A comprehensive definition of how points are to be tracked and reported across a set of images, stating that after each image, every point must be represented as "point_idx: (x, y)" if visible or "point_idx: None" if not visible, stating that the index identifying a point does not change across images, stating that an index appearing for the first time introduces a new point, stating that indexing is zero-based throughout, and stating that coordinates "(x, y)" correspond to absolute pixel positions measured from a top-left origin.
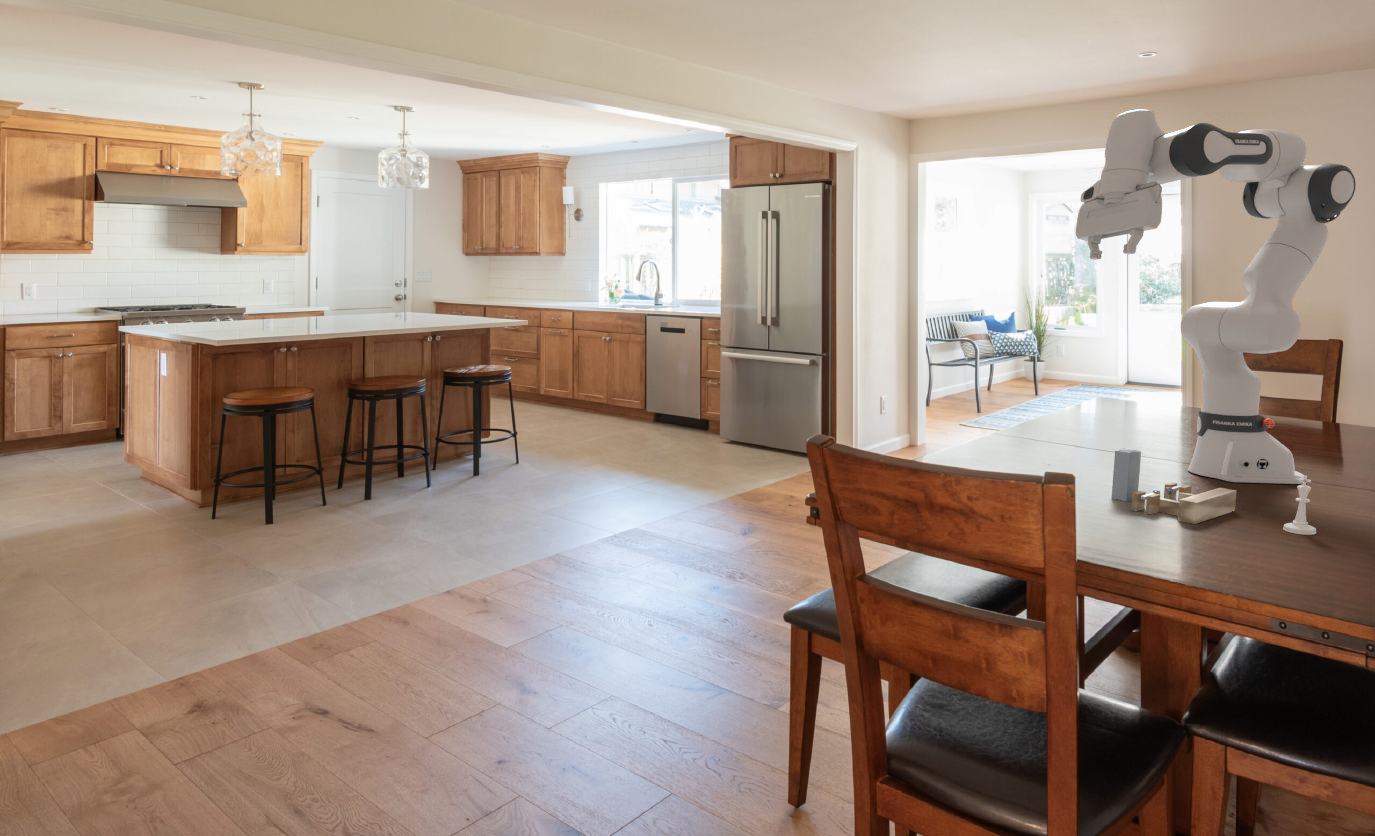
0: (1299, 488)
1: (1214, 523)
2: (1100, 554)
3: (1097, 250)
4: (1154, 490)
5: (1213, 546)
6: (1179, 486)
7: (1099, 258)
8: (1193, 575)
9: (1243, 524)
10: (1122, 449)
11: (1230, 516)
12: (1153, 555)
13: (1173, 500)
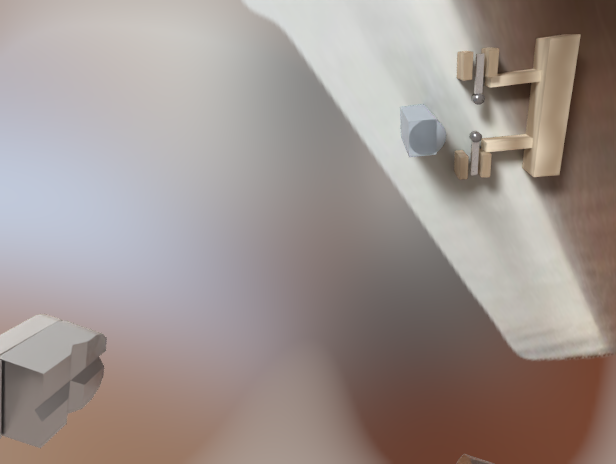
0: None
1: None
2: (519, 339)
3: (46, 423)
4: (472, 136)
5: (597, 235)
6: (481, 61)
7: (101, 343)
8: (611, 330)
9: (598, 106)
10: (411, 137)
11: None
12: (559, 308)
13: (506, 142)
